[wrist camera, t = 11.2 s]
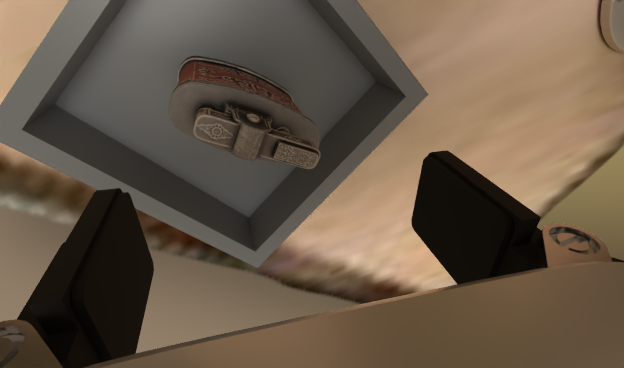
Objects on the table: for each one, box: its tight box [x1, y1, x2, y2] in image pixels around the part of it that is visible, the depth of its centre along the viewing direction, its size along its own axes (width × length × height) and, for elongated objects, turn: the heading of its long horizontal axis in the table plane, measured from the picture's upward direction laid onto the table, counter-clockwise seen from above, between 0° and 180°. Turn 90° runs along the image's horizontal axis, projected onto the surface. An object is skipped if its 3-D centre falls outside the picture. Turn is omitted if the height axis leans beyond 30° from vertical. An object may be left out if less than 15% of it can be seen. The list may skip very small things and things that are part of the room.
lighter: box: [168, 56, 321, 169], centre depth 19 cm, size 8×3×10 cm, turn 66°
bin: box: [0, 0, 428, 268], centre depth 22 cm, size 18×18×6 cm
